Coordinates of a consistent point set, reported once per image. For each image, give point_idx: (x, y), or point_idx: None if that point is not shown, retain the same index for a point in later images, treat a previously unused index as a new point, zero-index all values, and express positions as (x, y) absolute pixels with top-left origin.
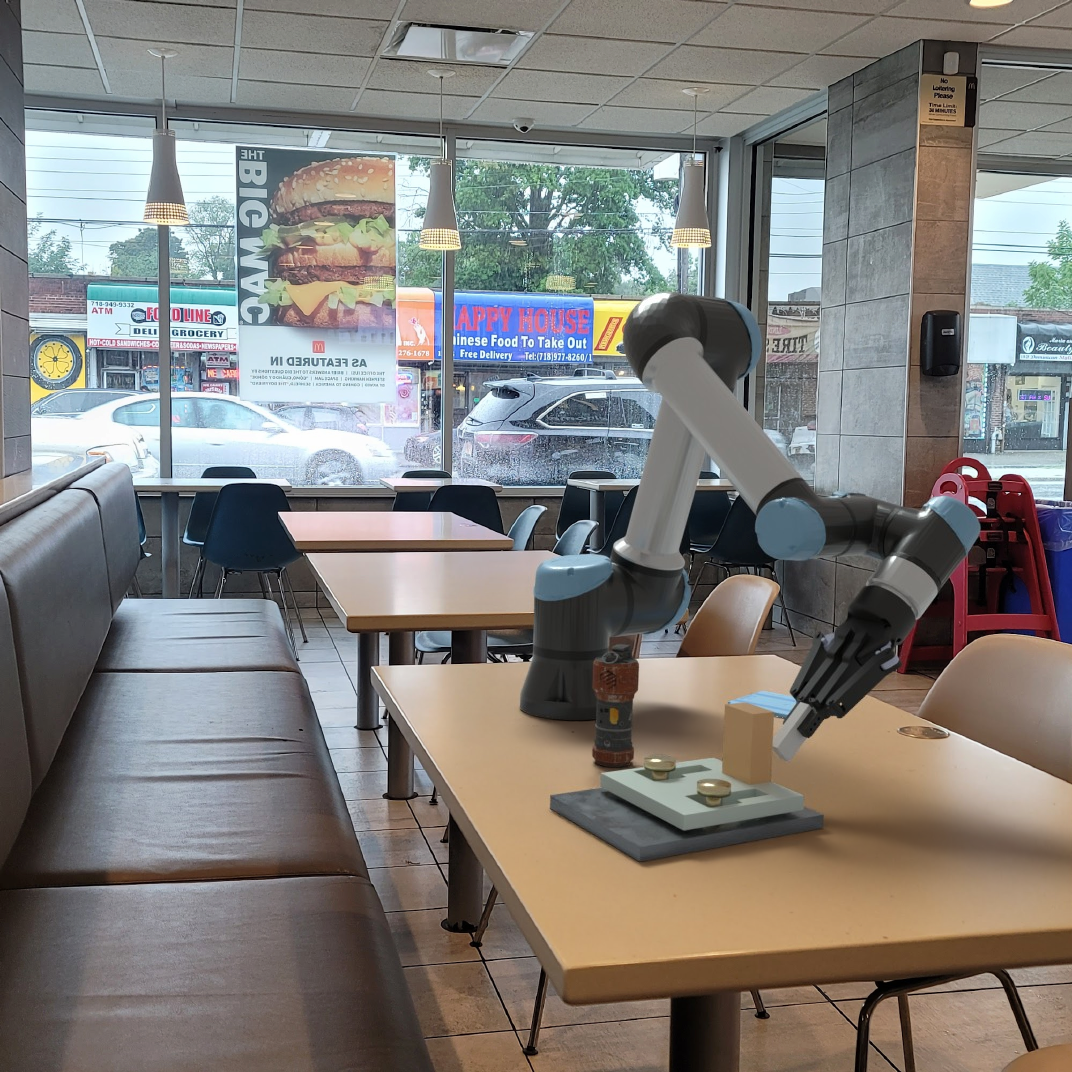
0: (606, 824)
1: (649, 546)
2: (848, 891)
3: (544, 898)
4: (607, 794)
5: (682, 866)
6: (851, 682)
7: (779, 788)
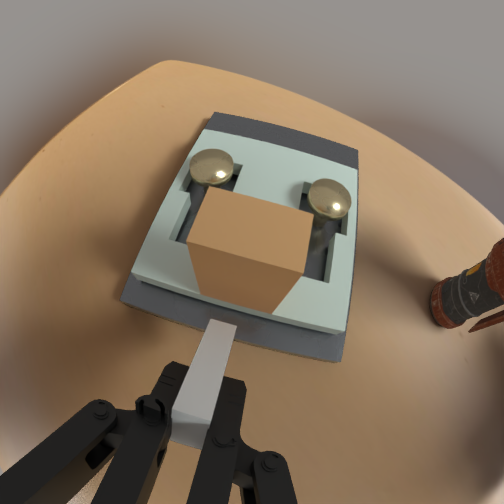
0: (270, 126)
1: None
2: (64, 182)
3: (219, 74)
4: None
5: (184, 133)
6: (42, 458)
7: (172, 274)
